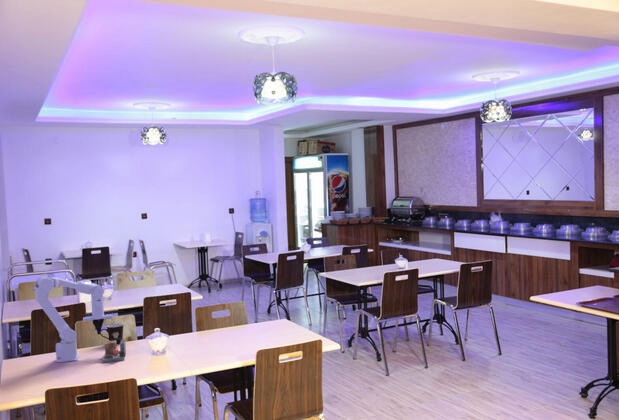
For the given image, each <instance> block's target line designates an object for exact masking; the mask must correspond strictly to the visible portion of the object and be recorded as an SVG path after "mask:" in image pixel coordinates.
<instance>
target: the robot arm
mask: <svg viewBox="0 0 619 420" xmlns="http://www.w3.org/2000/svg"><path fill="white" fill-rule="evenodd" d="M58 287H65V288H70V289H75V291H76V292H77V293H81V294H86V295H90V297H91V314H92V315H91V316H84V317H83V318H82V323H85V322H92V324H93V326H94V328H95V331H96V333H97V335H100V334H102V331H101V330H102V329H103V324H104V321H105V320H113V319H114V314H105V310H104V294H105V289H104V287H103V285H99V284H97V283H95V282H87V281H86V280H84V279H82V280H79V281H78V282H76V281H75V282H74V281H73V280H72V281H71V280H67V279H64V278H61V277H54V276H46V275H42V276H40V277H38V278H37V280H36V282H35V284H34V289H35V290H34V291H35V295H34V296H35V301H36V302H37V304H38V305H39V306H40V307H41V309H42V310H43V312H44V313H45V315H46V316H47V317H48V318H49V319H50V321H51V322H52V324H53V325H54V327H55V329H56V330H57V331H58V332H57V333H58V335H59V338H60V339H61V340H60V342H56V343H55V357H56V360H55V361H56V362H55V363H64V362H65V363H66V362H73V361H75V362H76V361H78V359H79V357H80V355H79V354H78V349H77V337H78V334H77V331H76V330H73V329H72V328H71V327H70V326H69V325H68V323H67V322H66V321H65V319H64V318H63V317H62V316H61V314H60V313H59V312H58V310H57V309H56V308H55V306H54V305H53V303H52V302H51V300H50V299H49V295H50V293H51V291H52V290H53V288H58Z"/></svg>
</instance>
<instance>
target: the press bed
mask: <svg viewBox="0 0 619 420" xmlns="http://www.w3.org/2000/svg"><path fill="white" fill-rule="evenodd" d="M126 347H127V346H126V339H125V338H124V339H123V340H121V342H120V344H119V350H118V352H119V354H120V357H119V358H115V359H113V355H108V356H105V354H103V358H102V361H101V362H102V364H105V363H114V362H124V361H125V357H126V355H127V348H126Z"/></svg>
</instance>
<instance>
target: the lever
mask: <svg viewBox="0 0 619 420" xmlns="http://www.w3.org/2000/svg"><path fill="white" fill-rule="evenodd" d="M118 351H119V348H118V347H117V348H116V349H113V359H115V358H119V357H120V354H119V352H118Z"/></svg>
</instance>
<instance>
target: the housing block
mask: <svg viewBox="0 0 619 420" xmlns="http://www.w3.org/2000/svg"><path fill="white" fill-rule="evenodd" d="M117 346H118V345H116V340H114V341H109V340H105V342H104V349H105V350H104V355H105V356H108V355H113V349H116V348H118V347H117Z"/></svg>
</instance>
